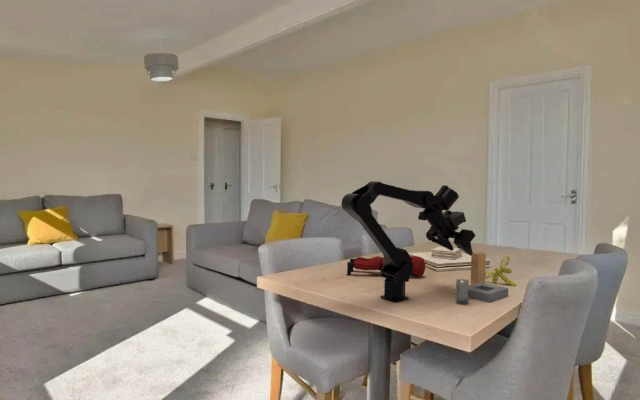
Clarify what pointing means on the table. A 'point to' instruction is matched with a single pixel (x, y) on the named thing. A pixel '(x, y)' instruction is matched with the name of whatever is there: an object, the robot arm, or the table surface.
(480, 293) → the socket plate
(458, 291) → the round bit
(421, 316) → the table surface
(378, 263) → the toy
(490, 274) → the decorative insect
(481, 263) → the square bit
